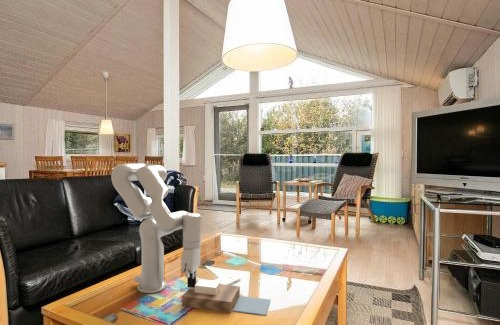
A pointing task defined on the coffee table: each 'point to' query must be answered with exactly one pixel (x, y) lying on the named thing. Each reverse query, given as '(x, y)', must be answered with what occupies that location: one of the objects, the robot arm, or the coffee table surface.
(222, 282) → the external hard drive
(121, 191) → the robot arm
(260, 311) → the mat
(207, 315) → the coffee table surface
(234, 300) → the block
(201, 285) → the white rectangular block
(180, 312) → the coffee table surface
